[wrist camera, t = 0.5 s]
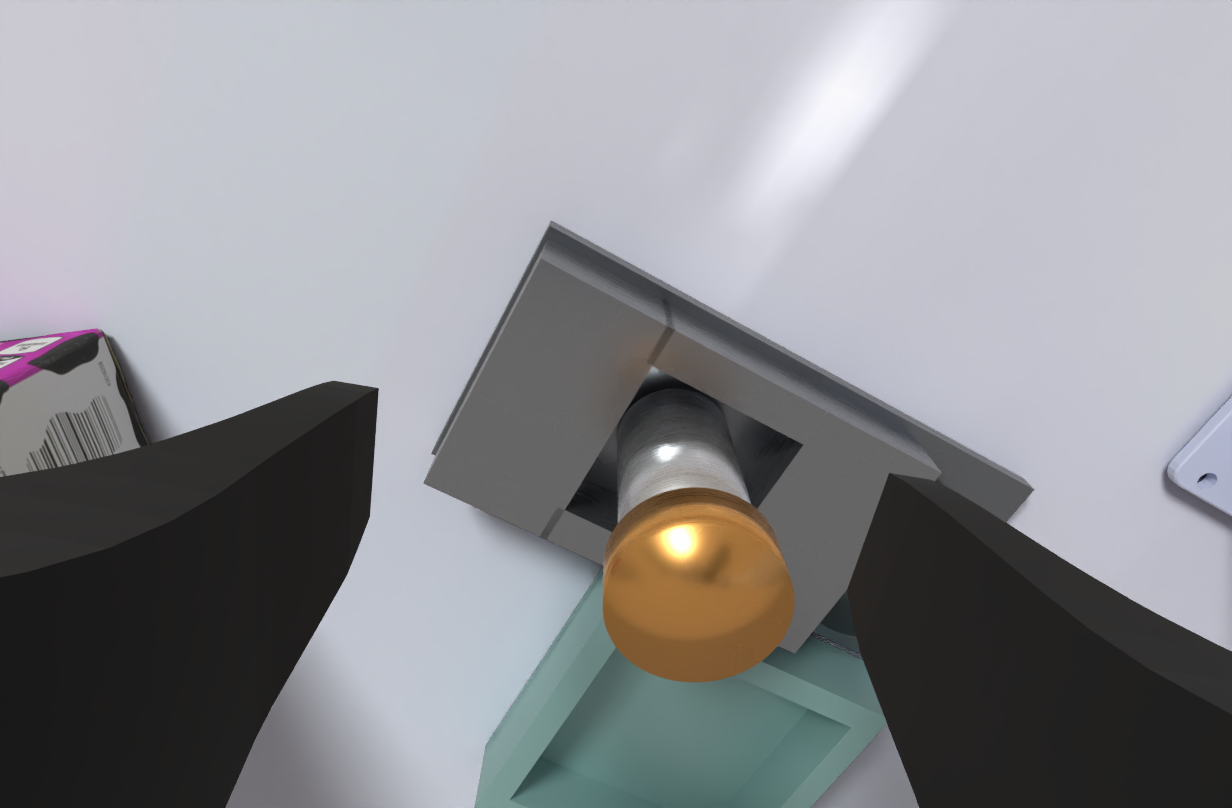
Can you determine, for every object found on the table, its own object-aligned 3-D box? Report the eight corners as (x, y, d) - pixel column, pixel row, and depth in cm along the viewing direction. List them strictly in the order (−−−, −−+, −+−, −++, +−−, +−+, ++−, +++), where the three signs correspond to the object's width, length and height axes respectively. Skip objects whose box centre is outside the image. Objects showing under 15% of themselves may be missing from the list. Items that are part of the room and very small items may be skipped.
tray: (866, 661, 26) (890, 719, 23) (715, 836, 29) (724, 902, 27) (617, 545, 24) (617, 596, 22) (485, 745, 27) (474, 807, 25)
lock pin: (766, 416, 21) (832, 577, 15) (695, 518, 23) (728, 707, 16) (648, 354, 21) (663, 495, 14) (582, 463, 22) (568, 638, 15)
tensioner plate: (1024, 479, 23) (1071, 529, 21) (876, 650, 25) (903, 713, 23) (551, 220, 20) (542, 244, 18) (435, 443, 22) (414, 490, 20)
